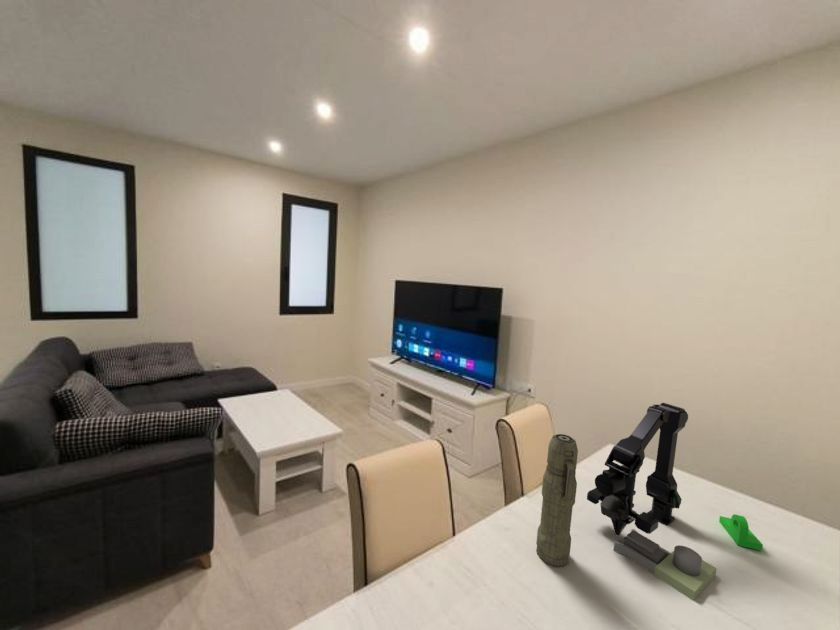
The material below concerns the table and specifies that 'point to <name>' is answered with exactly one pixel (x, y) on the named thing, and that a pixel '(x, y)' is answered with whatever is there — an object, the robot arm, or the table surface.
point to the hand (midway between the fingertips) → (617, 534)
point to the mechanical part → (740, 531)
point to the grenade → (557, 501)
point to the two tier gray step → (644, 547)
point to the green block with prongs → (676, 568)
